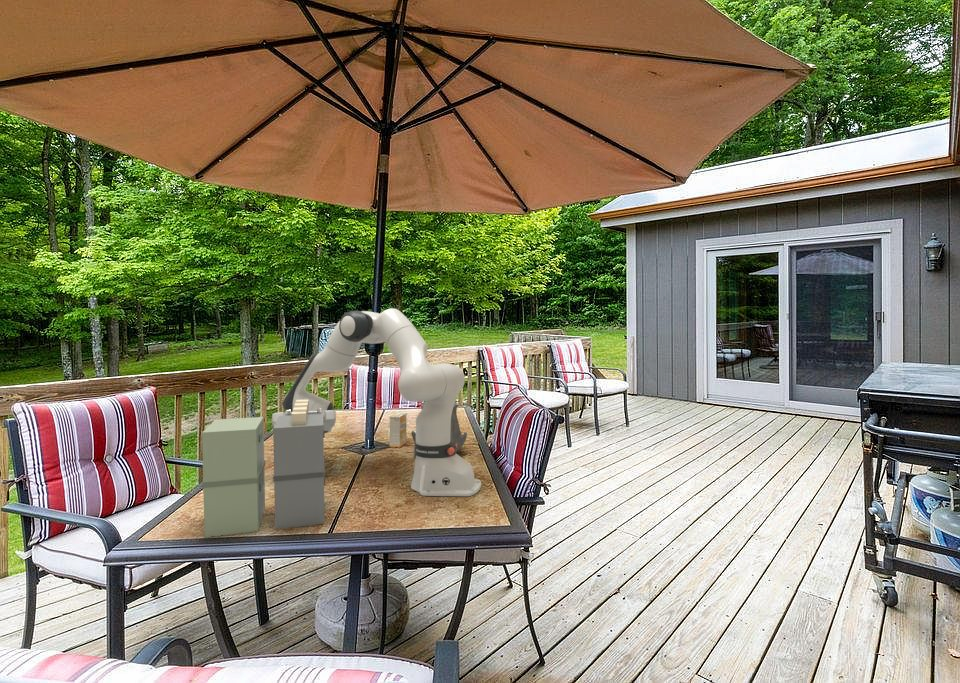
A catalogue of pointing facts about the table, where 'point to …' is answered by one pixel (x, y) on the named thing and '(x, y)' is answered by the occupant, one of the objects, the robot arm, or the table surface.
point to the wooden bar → (300, 412)
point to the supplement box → (398, 430)
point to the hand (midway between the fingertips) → (303, 411)
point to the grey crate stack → (299, 472)
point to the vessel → (454, 431)
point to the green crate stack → (233, 476)
